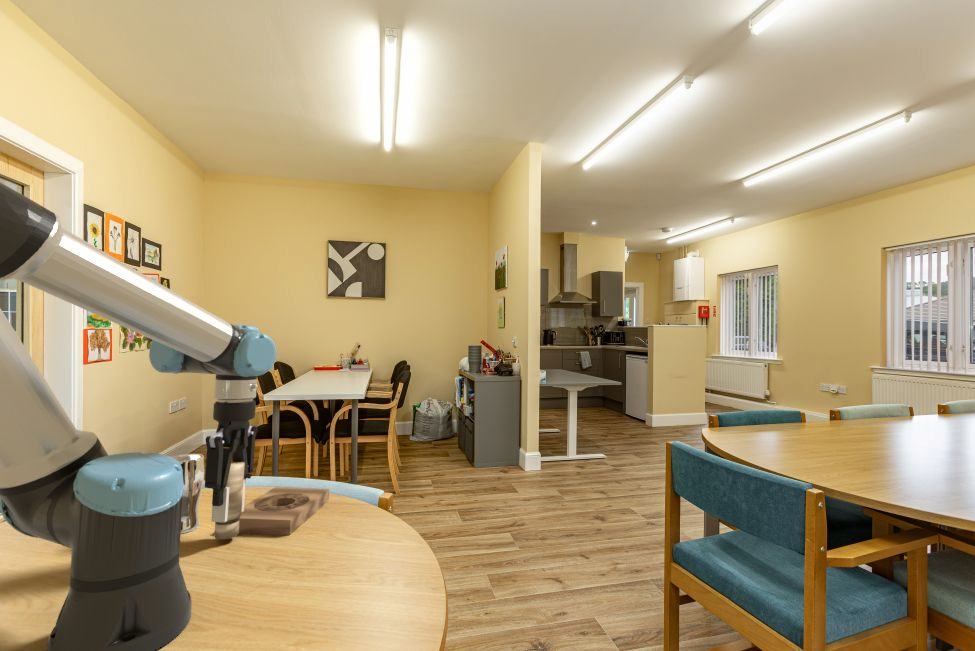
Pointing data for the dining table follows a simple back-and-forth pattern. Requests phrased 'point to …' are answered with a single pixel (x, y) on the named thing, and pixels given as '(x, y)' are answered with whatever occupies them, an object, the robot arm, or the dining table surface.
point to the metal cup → (191, 489)
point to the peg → (232, 503)
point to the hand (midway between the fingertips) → (228, 516)
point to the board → (281, 510)
